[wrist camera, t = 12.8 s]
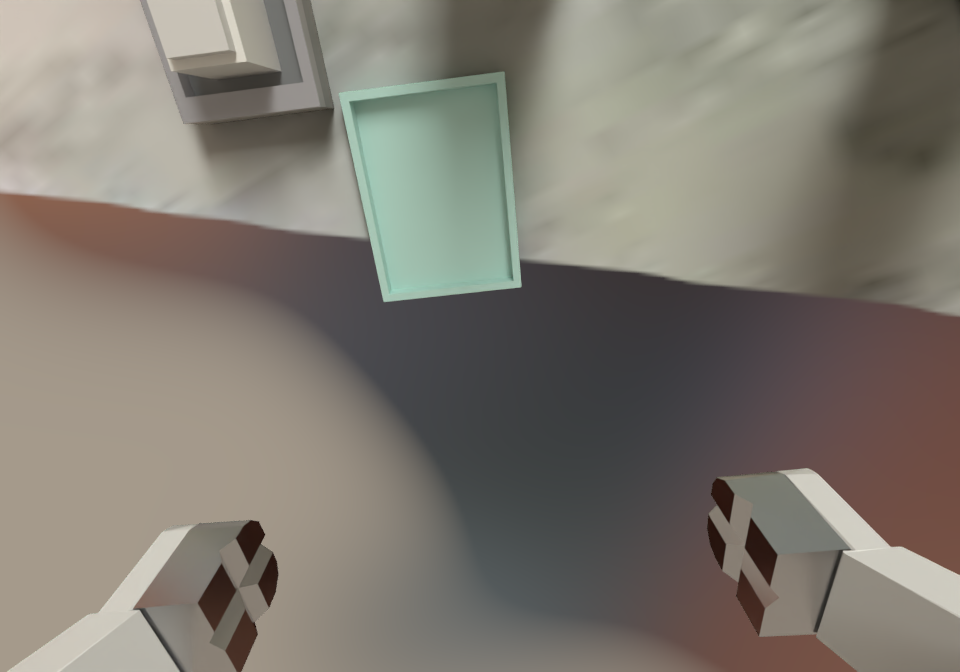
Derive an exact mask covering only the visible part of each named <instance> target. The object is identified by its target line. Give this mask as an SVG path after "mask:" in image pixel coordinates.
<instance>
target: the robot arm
mask: <svg viewBox="0 0 960 672" xmlns="http://www.w3.org/2000/svg"><path fill="white" fill-rule="evenodd" d="M711 496H712V497H713V499H714V501H715V502H716V504H717V506H716V507H715V508H714V509H713V510H712V511H711V512H710V513H709V514H708V524H707V530H708V536H709V542H710V546H711V548H712V551H713V553H714V556H715V558H716V560H717V562H718V564H719V566H720V568H721V569H722V571H723V572H724V573H726V574H727V575H729V576H730V577H732V578H733V579H734V580H736V581H737V582H738V588H737V594H736V597H737V599H738V600H739V602H740V604H741V606H742V607H743V609H744V611H745V613H746V614H747V616H748V618H749V620H750V622H751V623H752V625H753V627H754V629H755V630H756V632H757V634H758V636H759V637H765V636H787V635H806V634H807V635H808V634H817V636H816V637H817V638H818V639H819V640H820V641H821V642H822V643H824V644H825V645H826V646H827V647H829V648H830V649H831V650H832V651H833V652H835V653H836V654H837V655H838V656H839V657H841V658H842V659H843V660H844V661H846V662H847V663H848V664H849V665H850V666H852V667H853V668H854V669H855V670H857V671H858V672H960V575H958V574H956V573H954V572H952V571H949V570H948V569H946V568H944V567H941V566H940V565H938V564H935V563H934V562H931V561H930V560H927V559H926V558H923V557H921V556H919V555H917V554H915V553H913V552H911V551H909V550H907V549H905V548H903V547H890V546H889V545H888V544H887V543H886V542H885V541H884V540H883V539H882V538H881V537H880V536H879V535H878V534H877V533H876V532H875V531H874V530H873V529H872V528H871V527H870V526H869V525H868V524H867V523H866V522H865V521H864V520H863V519H862V518H861V517H860V516H859V515H858V514H857V513H856V512H855V511H854V510H853V509H852V508H851V507H850V506H849V505H848V504H847V503H846V502H845V501H844V500H843V499H842V498H841V497H840V496H839V495H838V494H837V493H836V492H835V491H834V490H833V489H832V488H831V487H830V486H829V485H828V484H827V483H826V482H825V481H824V480H823V479H822V478H821V477H820V476H819V475H818V474H817V473H816V472H814V471H812V470H810V469H808V468H804V469H795V470H784V471H777V472H766V473H756V474H746V475H737V476H726V477H717V478H716V479H715V481H714V482H713V484H712V491H711ZM264 536H265V533H264V531H263V529H262V527H261V525H260V523H259V521H253V520H246V521H231V522H215V523H199V524H193V525H177V526H171V527H170V528H168V529H166V530H165V531H163V532H162V533H161V534H160V535H159V537H158V538H157V539H156V541H155V542H154V543H153V544H152V546H151V547H150V548H149V549H148V551H147V552H146V553H145V554H144V556H143V557H142V558H141V560H140V561H139V562H138V563H137V565H136V566H135V567H134V568H133V570H132V571H131V572H130V573H129V575H128V576H127V577H126V579H125V580H124V581H123V582H122V584H121V585H120V586H119V587H118V589H117V590H116V591H115V592H114V594H113V595H112V596H111V597H110V599H109V600H108V601H107V603H106V604H105V605H104V606H103V608H102V609H101V610H100V612H99V613H94V614H88V615H87V616H85V617H84V618H83V619H81V620H80V621H78V622H77V623H76V624H74V625H73V626H71V627H70V628H68V629H67V630H65V631H64V632H63V633H61V634H60V635H58V636H57V637H55V638H54V639H53V640H51V641H50V642H48V643H47V644H46V645H44V646H43V647H41V648H40V649H38V650H37V651H36V652H34V653H33V654H31V655H30V656H28V657H27V658H26V659H24V660H23V661H21V662H20V663H18V664H17V665H16V666H14V667H13V668H11V669H10V670H9V671H7V672H241V671H242V669H243V667H244V664H245V662H246V660H247V657H248V655H249V653H250V651H251V648H252V646H253V644H254V642H255V639H256V637H257V635H258V633H257V629H256V625H255V621H256V620H257V619H258V618H259V617H260V616H261V615H262V614H264V612H266V611H267V610H268V609H269V607H270V605H271V602H272V600H273V597H274V595H275V592H276V587H277V580H278V567H277V561H276V558H275V556H274V554H273V552H272V551H271V550H269V549H268V548H266V547H265V546H263V545H262V544H261V542H262V540H263V538H264Z"/></svg>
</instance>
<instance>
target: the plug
mask: <svg viewBox="0 0 960 672" xmlns="http://www.w3.org/2000/svg"><path fill="white" fill-rule="evenodd" d="M147 3H148V6H149V9H150V12H151V14H152V17H153V20H154V23H155V26H156V29H157V32H158V35H159V38H160V41H161V44H162V46H163V49H164V52H165V55H166V58H167V61H168V63H169V66H170V69H171V71H173V72H178V73H183V74H189V75H194V76H199V77H205V78H210V79H215V80H219V79H227V78H234V77H242V76H250V75H258V74H266V73H273V72H281V68H280V64H279V60H278V56H277V52H276V48H275V44H274V40H273V36H272V32H271V28H270V24H269V20H268V16H267V13H266V9H265V5H264V1H263V0H147Z"/></svg>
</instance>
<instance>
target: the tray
mask: <svg viewBox="0 0 960 672" xmlns="http://www.w3.org/2000/svg"><path fill="white" fill-rule="evenodd" d="M339 97H340V102H341V106H342V111H343V116H344V120H345V125H346V130H347V134H348V139H349V144H350V148H351V153H352V157H353V162H354V167H355V171H356V176H357V181H358V185H359V190H360V195H361V199H362V204H363V209H364V213H365V218H366V222H367V227H368V232H369V236H370V241H371V246H372V250H373V255H374V260H375V264H376V269H377V274H378V278H379V283H380V287H381V292H382V297H383V301H384V302H390V301H399V300H407V299H417V298H426V297H436V296H445V295H454V294H463V293H473V292H482V291H491V290H500V289H509V288H519V287H521V275H520V262H519V249H518V236H517V224H516V211H515V198H514V185H513V172H512V160H511V147H510V134H509V121H508V108H507V95H506V83H505V71H503V72H495V73H488V74H480V75H472V76H465V77H457V78H449V79H441V80H434V81H426V82H418V83H411V84H403V85H395V86H387V87H380V88H372V89H364V90H357V91H349V92H341V93H339Z"/></svg>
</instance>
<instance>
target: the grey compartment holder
mask: <svg viewBox="0 0 960 672" xmlns="http://www.w3.org/2000/svg"><path fill="white" fill-rule="evenodd" d="M140 1H141V4H142V7H143V10H144V13H145V16H146V18H147V21H148V24H149V27H150V30H151V33H152V36H153V38H154V41H155V44H156V47H157V50H158V53H159V55H160V58H161V61H162V64H163V67H164V70H165V72H166V75H167V78H168V81H169V84H170V87H171V90H172V92H173V95H174V98H175V101H176V104H177V107H178V109H179V112H180V115H181V118H182V121H183V124H215V123H223V122H231V121H239V120H246V119H254V118H262V117H270V116H278V115H285V114H293V113H301V112H309V111H317V110H324V109H332V108H334V105H333V100H332V96H331V91H330V87H329V82H328V78H327V73H326V69H325V64H324V60H323V55H322V51H321V46H320V42H319V37H318V33H317V28H316V24H315V19H314V15H313V10H312V6H311V1H310V0H263V1H264V5H265V9H266V13H267V16H268V20H269V24H270V28H271V32H272V36H273V40H274V44H275V48H276V52H277V56H278V60H279V64H280V68H281V72H273V73H266V74H258V75H250V76H242V77H234V78H227V79H219V80H215V79H210V78H205V77H199V76H194V75H189V74H183V73H178V72H173V71H171V69H170V66H169V63H168V61H167V58H166V55H165V52H164V49H163V46H162V44H161V41H160V38H159V35H158V32H157V29H156V26H155V23H154V20H153V17H152V14H151V12H150V9H149V6H148V3H147V0H140Z"/></svg>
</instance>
